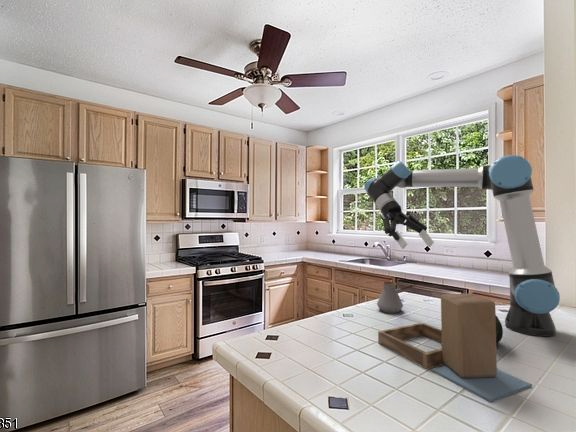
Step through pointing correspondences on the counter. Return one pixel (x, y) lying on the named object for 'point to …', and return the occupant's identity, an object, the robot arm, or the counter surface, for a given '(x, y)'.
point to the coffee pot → (391, 298)
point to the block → (469, 335)
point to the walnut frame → (393, 342)
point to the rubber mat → (486, 383)
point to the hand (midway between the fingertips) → (418, 245)
